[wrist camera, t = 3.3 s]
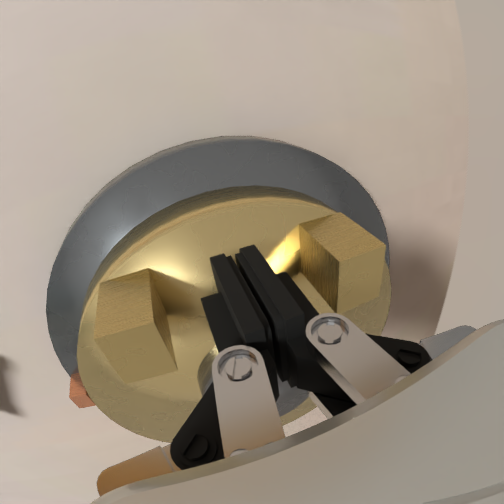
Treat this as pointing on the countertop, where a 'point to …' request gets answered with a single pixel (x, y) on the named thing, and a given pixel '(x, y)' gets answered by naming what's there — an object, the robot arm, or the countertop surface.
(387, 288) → the lugged brass disc
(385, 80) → the countertop surface
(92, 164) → the countertop surface
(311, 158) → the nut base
